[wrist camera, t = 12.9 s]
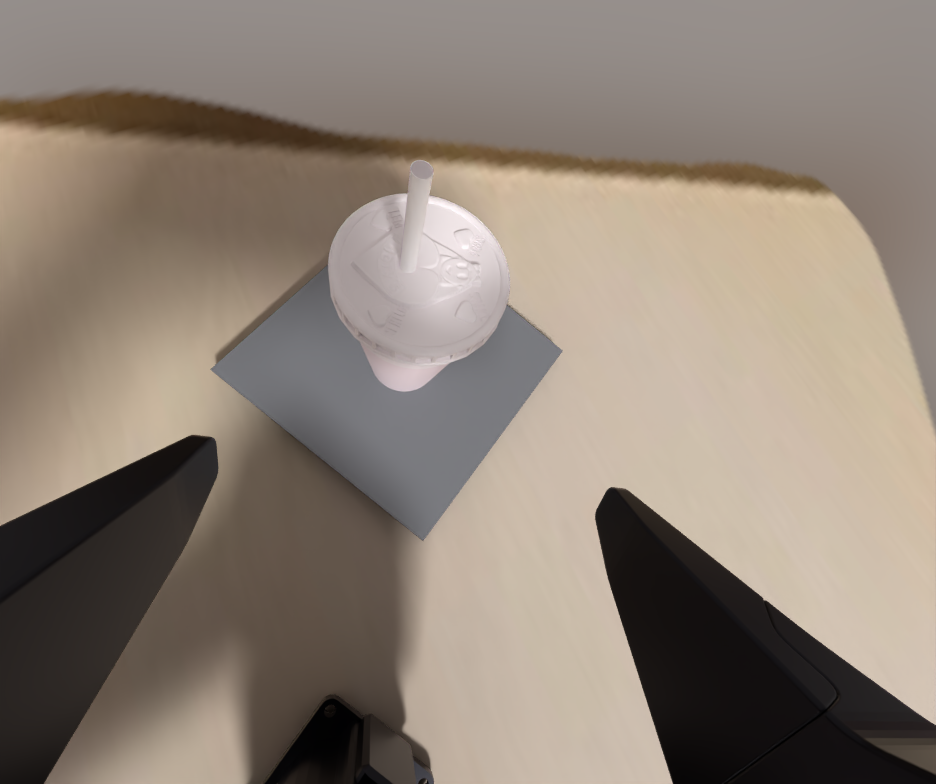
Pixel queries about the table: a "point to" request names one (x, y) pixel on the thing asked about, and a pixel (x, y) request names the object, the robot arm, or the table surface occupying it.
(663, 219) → the table surface
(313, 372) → the placemat
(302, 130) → the table surface
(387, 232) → the smoothie
